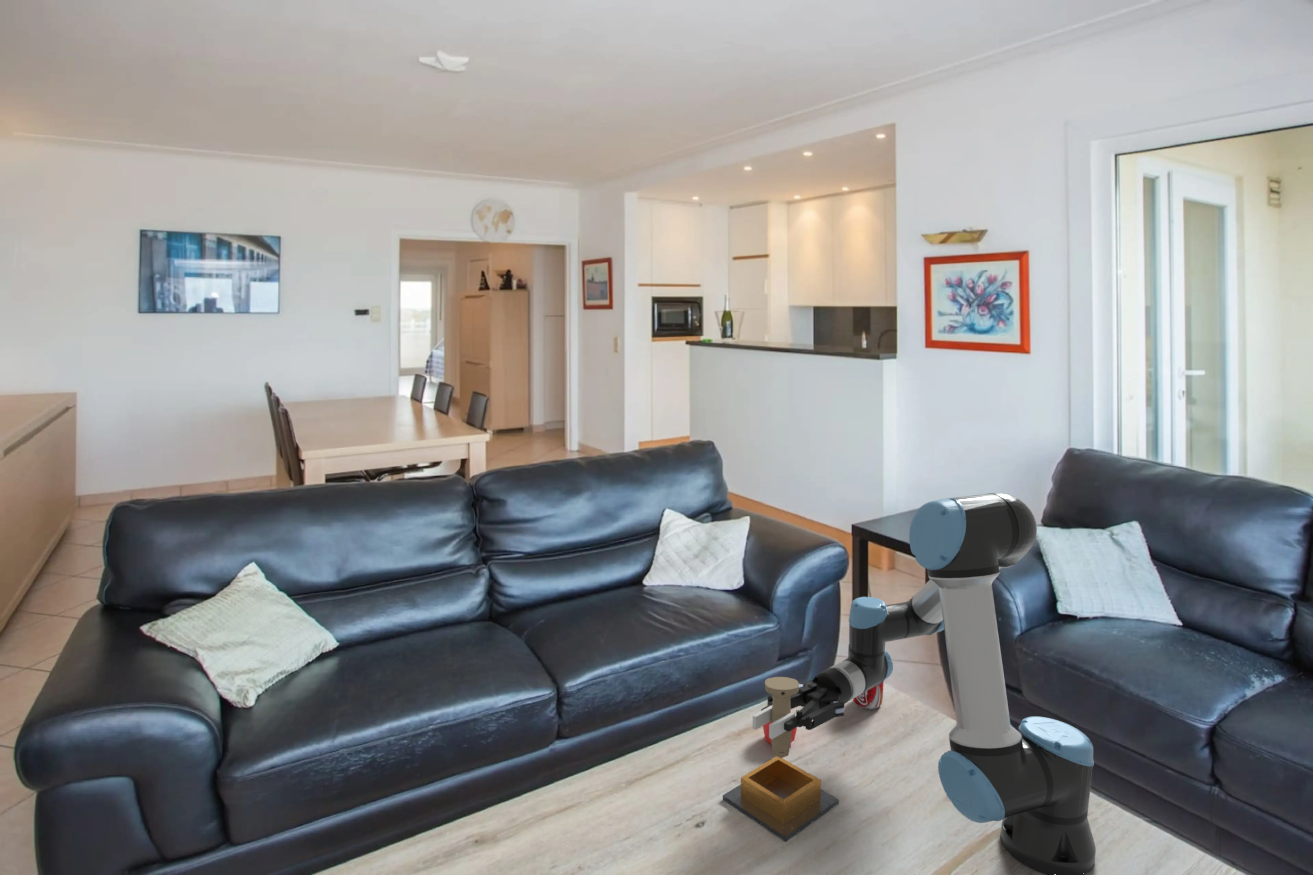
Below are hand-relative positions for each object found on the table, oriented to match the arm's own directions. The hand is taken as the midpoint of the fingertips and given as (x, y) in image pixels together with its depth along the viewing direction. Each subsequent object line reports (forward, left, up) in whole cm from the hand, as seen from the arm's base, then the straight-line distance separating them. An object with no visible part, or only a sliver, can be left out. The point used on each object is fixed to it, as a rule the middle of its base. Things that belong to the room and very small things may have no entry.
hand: (762, 727), depth 146 cm
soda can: (+10, -49, -18) cm, 53 cm away
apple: (+14, -21, -18) cm, 31 cm away
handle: (0, -6, -8) cm, 10 cm away
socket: (0, -5, -18) cm, 19 cm away
